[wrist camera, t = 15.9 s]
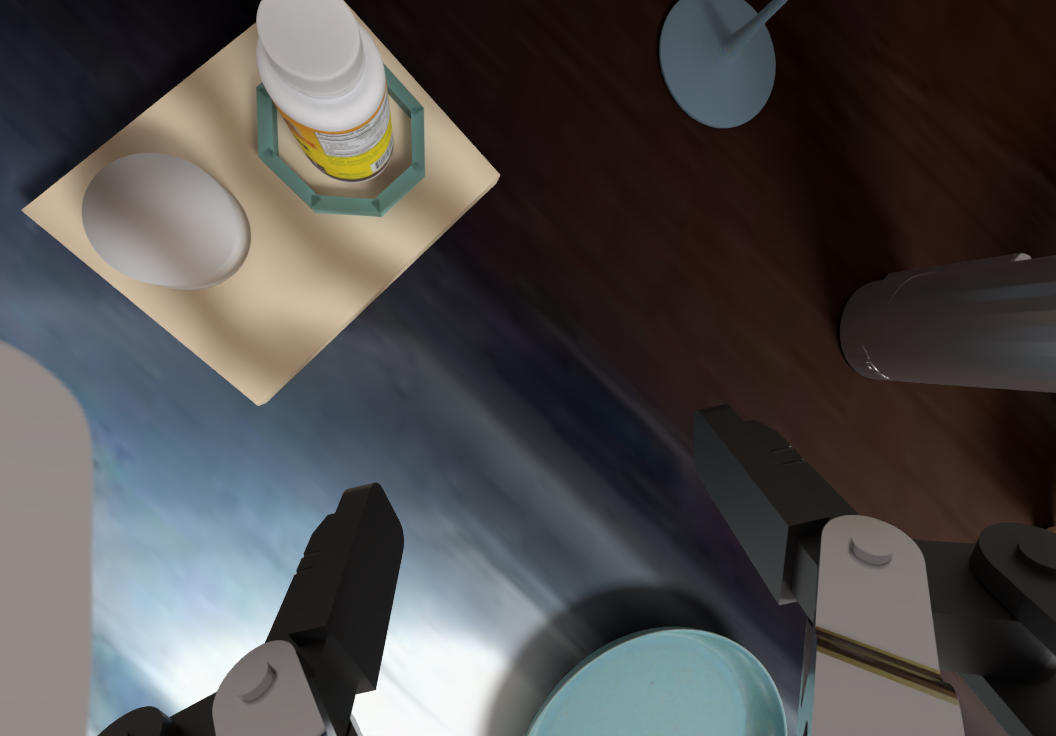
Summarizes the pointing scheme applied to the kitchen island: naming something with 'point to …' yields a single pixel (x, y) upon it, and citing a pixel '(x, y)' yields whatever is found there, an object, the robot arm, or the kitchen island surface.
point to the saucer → (664, 690)
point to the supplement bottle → (327, 85)
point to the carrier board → (258, 217)
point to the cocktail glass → (718, 59)
